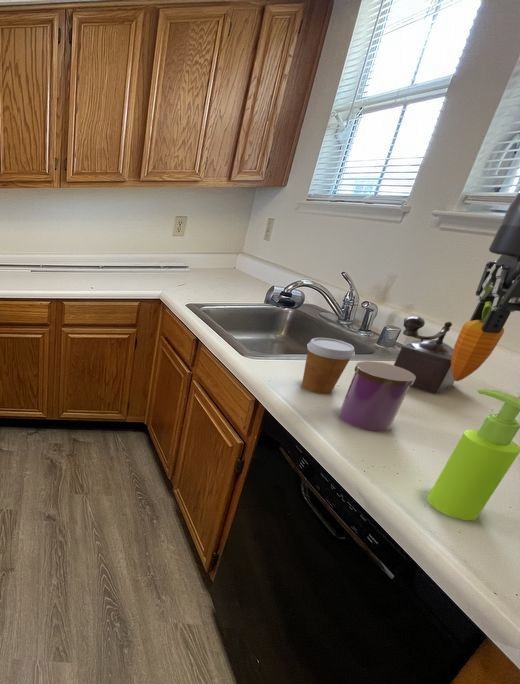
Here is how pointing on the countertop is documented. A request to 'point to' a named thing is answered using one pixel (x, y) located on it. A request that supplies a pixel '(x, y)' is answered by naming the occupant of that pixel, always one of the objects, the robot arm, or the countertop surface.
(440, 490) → the soap dispenser
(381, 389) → the jar
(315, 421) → the countertop surface
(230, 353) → the countertop surface
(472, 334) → the carrot
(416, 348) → the brown manual coffee grinder
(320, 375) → the disposable coffee cup
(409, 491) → the countertop surface
